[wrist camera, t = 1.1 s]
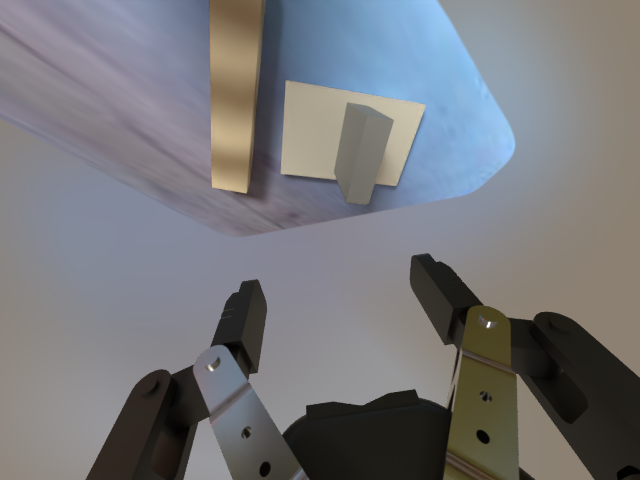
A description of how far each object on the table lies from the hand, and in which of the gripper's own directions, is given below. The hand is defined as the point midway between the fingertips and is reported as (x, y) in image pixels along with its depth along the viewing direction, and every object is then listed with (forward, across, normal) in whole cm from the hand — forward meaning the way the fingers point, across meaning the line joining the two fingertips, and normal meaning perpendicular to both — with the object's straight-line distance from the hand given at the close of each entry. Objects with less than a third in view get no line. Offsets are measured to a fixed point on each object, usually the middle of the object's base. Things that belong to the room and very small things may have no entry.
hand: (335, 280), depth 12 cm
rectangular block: (+22, +7, -10) cm, 25 cm away
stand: (+22, -5, -3) cm, 23 cm away
